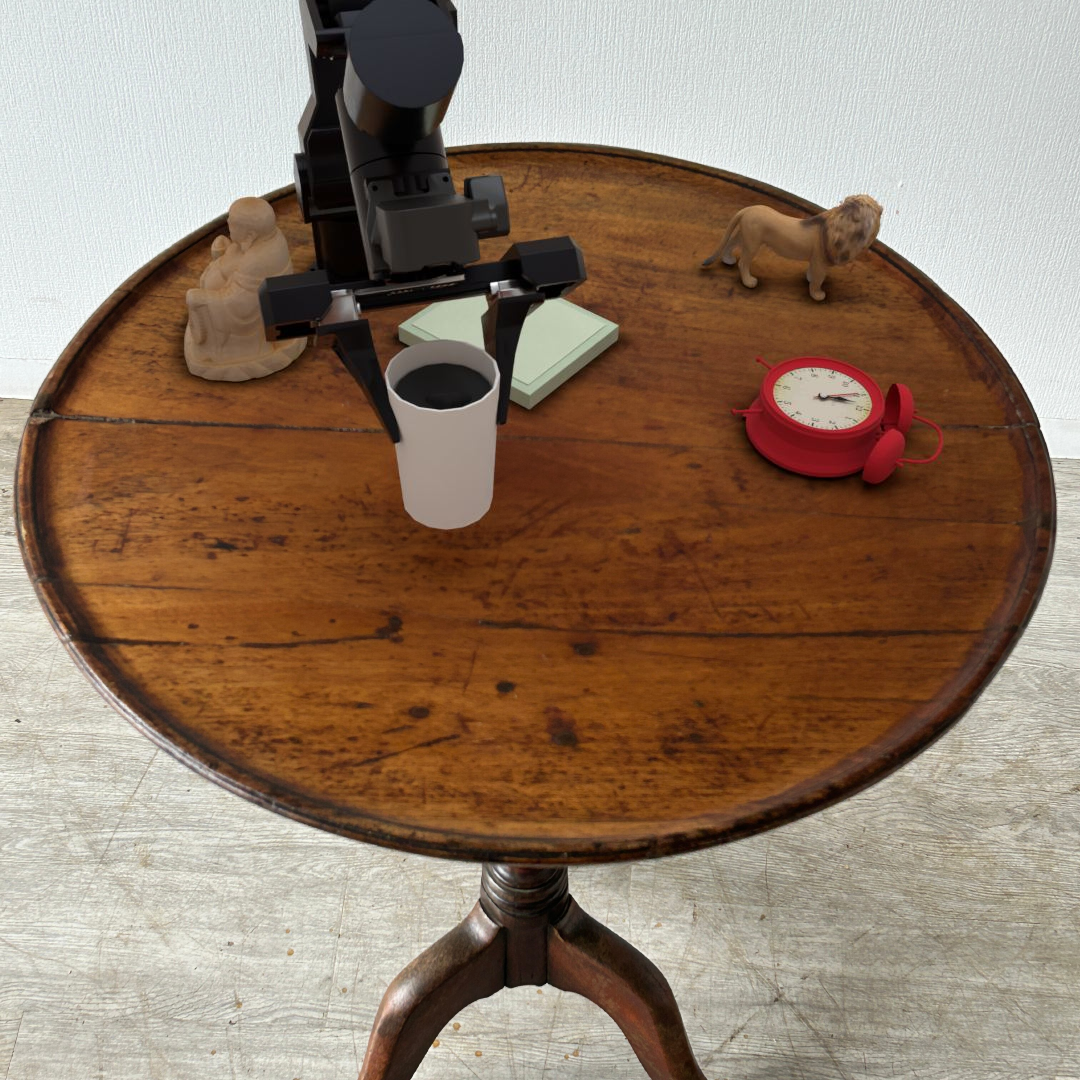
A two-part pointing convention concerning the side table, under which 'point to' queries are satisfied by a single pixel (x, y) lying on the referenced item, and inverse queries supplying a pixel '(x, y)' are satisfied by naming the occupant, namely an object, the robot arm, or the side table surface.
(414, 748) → the side table surface
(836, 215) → the lion figurine
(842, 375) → the alarm clock
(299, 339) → the statue
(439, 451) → the white cup
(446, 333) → the board
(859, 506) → the side table surface
